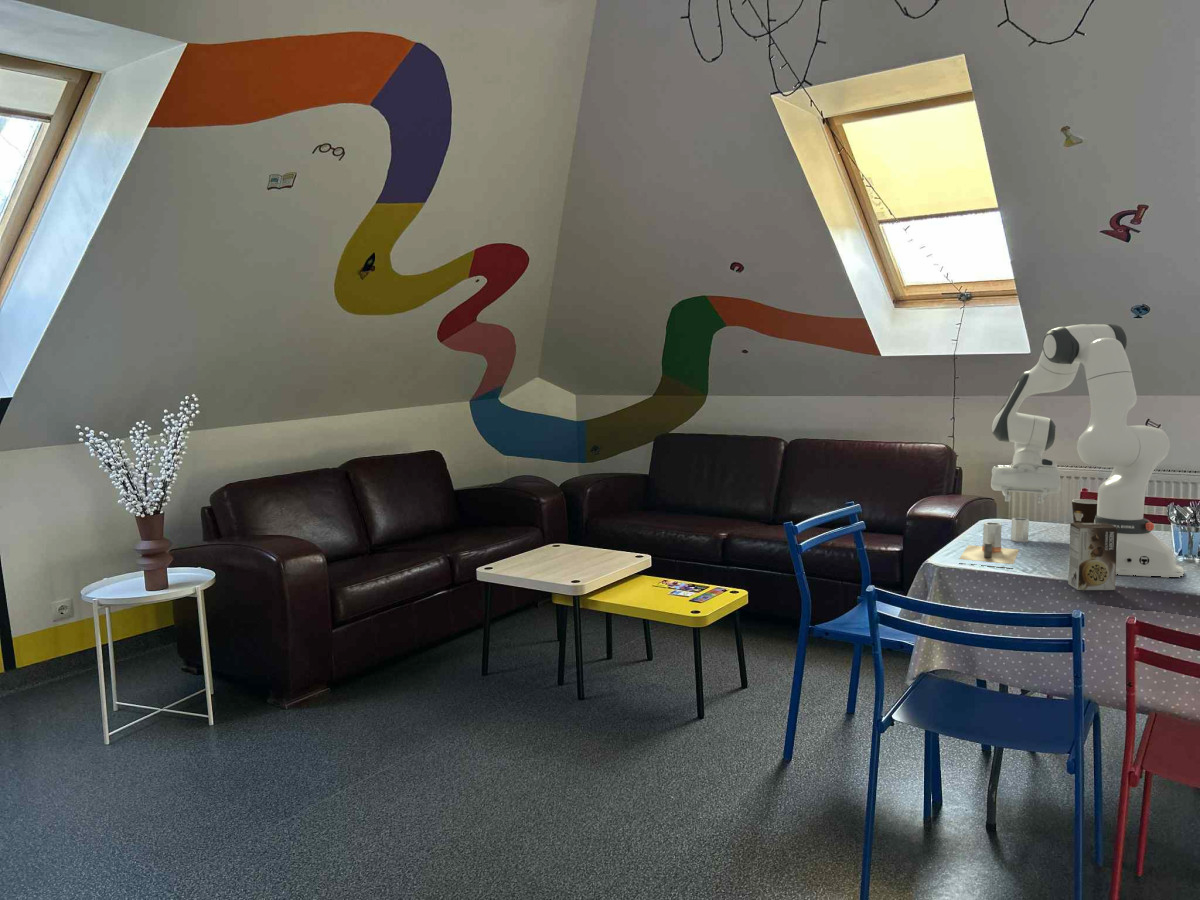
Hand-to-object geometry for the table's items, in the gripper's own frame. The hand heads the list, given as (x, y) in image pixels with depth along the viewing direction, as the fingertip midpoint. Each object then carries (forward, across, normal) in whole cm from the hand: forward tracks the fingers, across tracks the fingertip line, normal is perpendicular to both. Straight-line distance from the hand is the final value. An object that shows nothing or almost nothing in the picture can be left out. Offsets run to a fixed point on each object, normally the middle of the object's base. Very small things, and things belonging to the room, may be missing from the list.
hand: (1023, 501), depth 286 cm
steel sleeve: (+15, 0, +2) cm, 15 cm away
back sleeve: (+28, -6, -12) cm, 31 cm away
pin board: (+32, -6, -15) cm, 36 cm away
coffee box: (+48, +20, -30) cm, 60 cm away
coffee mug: (-6, +18, +24) cm, 30 cm away
